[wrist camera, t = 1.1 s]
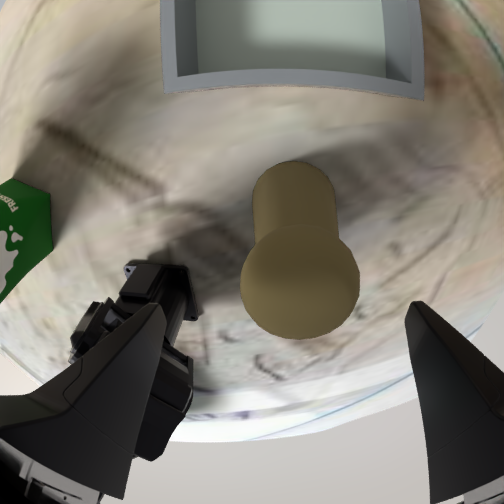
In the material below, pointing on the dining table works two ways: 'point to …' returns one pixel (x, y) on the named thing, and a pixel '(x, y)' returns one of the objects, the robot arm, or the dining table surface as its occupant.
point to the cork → (297, 256)
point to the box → (293, 45)
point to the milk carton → (22, 232)
